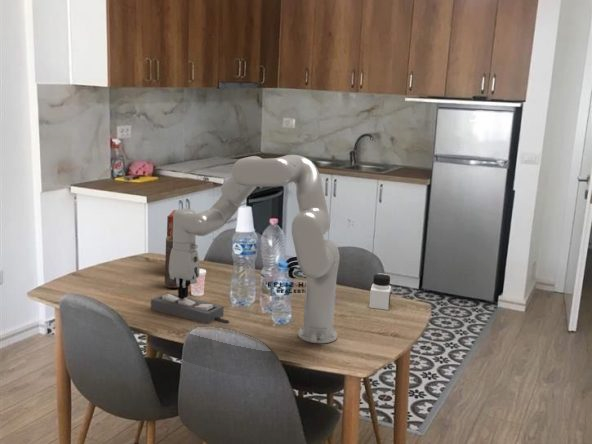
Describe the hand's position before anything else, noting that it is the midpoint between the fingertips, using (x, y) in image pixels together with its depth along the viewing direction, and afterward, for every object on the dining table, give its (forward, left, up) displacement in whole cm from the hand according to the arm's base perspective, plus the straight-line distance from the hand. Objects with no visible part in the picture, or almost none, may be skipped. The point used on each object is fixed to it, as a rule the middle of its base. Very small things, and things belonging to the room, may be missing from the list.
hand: (182, 297), depth 222 cm
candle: (+25, +8, -5) cm, 27 cm away
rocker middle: (-1, -2, -2) cm, 2 cm away
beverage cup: (+19, -2, -5) cm, 20 cm away
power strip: (-2, -4, -5) cm, 7 cm away
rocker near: (-4, -8, -2) cm, 9 cm away
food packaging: (+44, +10, -5) cm, 46 cm away
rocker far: (+2, +5, -2) cm, 6 cm away
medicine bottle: (+18, -70, -5) cm, 72 cm away
